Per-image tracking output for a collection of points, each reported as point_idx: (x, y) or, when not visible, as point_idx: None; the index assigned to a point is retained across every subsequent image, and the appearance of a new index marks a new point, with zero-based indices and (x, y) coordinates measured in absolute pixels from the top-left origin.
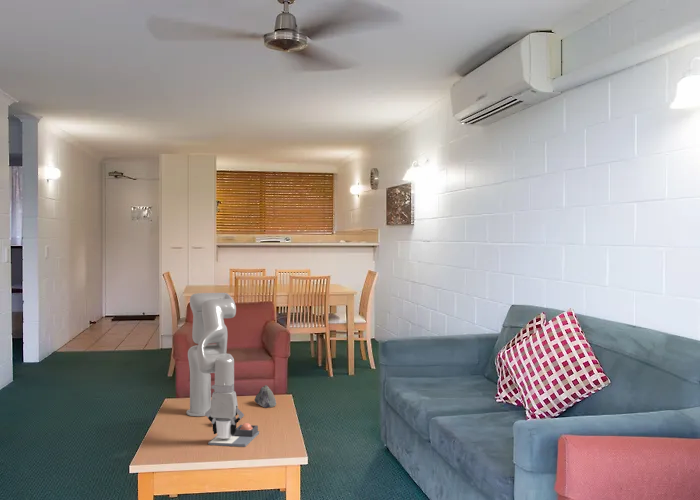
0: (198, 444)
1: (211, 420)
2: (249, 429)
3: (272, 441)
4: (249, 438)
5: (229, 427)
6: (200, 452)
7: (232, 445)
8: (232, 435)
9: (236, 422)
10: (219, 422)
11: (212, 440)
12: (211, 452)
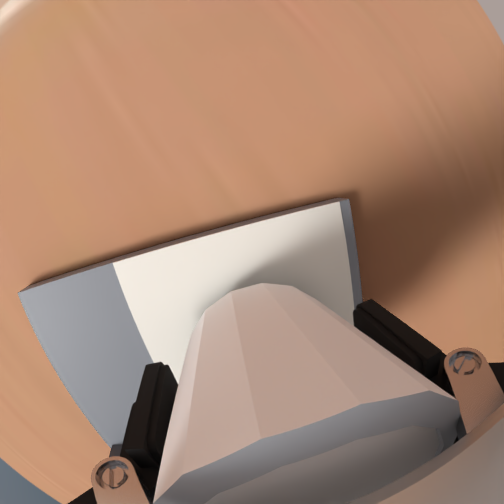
0: (408, 185)
1: (494, 375)
2: None
3: (14, 418)
4: (98, 418)
5: (172, 415)
6: (278, 16)
7: (111, 260)
8: None
9: (92, 494)
10: (356, 386)
11: (342, 259)
12: (191, 39)
